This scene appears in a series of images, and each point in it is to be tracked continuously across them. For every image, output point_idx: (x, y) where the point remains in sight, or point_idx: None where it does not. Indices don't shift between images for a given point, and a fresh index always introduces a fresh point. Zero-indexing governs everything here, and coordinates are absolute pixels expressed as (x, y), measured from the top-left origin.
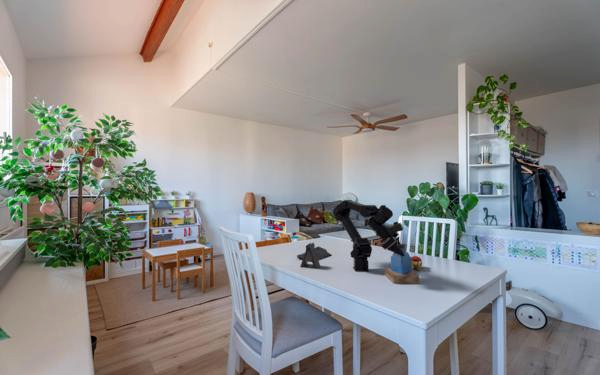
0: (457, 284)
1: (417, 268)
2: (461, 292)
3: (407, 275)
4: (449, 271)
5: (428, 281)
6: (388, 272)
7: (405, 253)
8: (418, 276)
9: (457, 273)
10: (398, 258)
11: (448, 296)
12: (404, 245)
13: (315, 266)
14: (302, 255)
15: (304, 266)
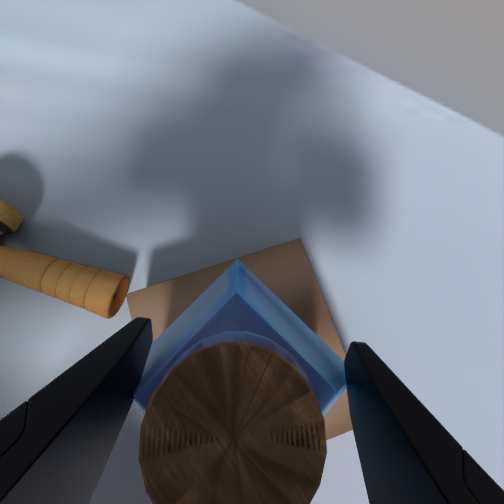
0: (241, 74)
1: (16, 227)
2: (354, 83)
3: (328, 313)
4: (8, 62)
5: (235, 196)
6: None
7: (276, 326)
8: (298, 241)
9: (43, 34)
10: (323, 414)
11: (433, 142)
12: (271, 351)
13: None
14: None
15: None
